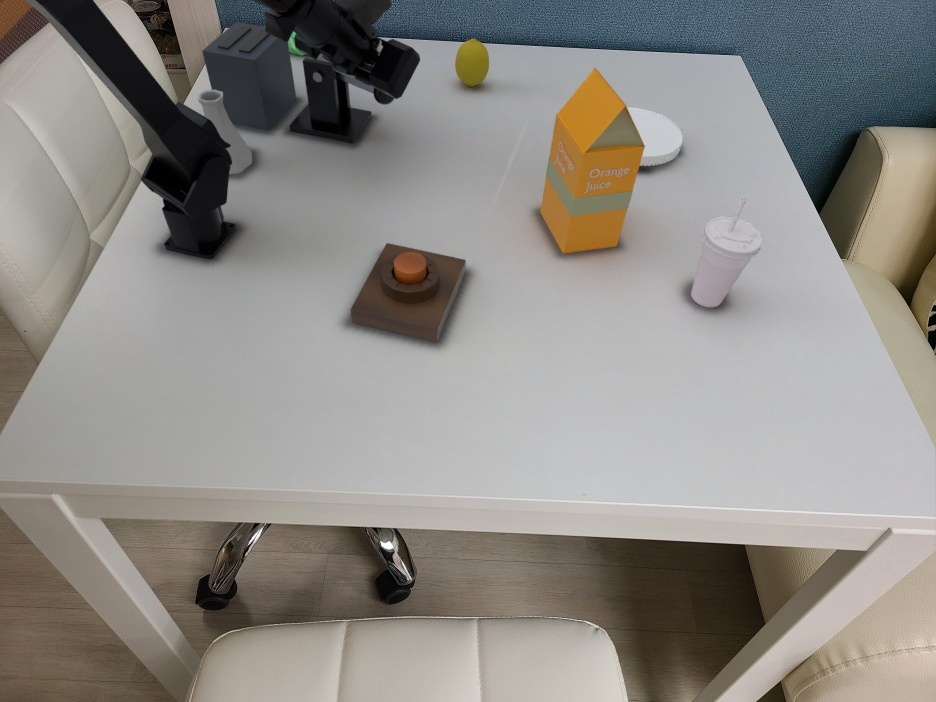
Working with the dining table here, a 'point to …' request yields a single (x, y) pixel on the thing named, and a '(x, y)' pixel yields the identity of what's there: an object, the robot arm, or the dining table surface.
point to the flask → (226, 129)
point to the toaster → (251, 75)
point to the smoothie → (724, 256)
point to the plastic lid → (656, 136)
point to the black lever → (361, 85)
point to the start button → (410, 268)
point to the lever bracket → (328, 105)
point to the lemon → (472, 62)
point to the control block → (409, 295)
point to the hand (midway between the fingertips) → (388, 78)
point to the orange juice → (591, 168)
